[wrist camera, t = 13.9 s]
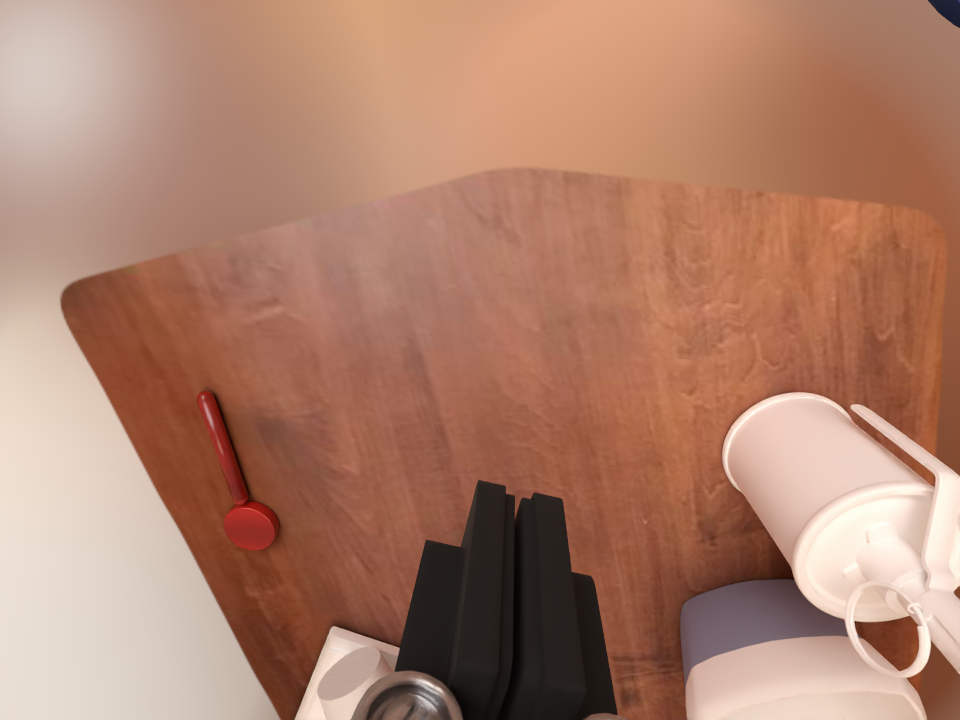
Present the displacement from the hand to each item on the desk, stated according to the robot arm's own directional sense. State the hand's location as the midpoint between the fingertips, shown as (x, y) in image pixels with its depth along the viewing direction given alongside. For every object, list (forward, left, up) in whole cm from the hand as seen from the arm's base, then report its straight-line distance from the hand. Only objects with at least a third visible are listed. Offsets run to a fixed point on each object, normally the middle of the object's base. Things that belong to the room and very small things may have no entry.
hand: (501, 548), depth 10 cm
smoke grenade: (+8, +23, -27) cm, 36 cm away
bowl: (+26, +27, -27) cm, 46 cm away
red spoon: (+22, -18, -27) cm, 39 cm away
